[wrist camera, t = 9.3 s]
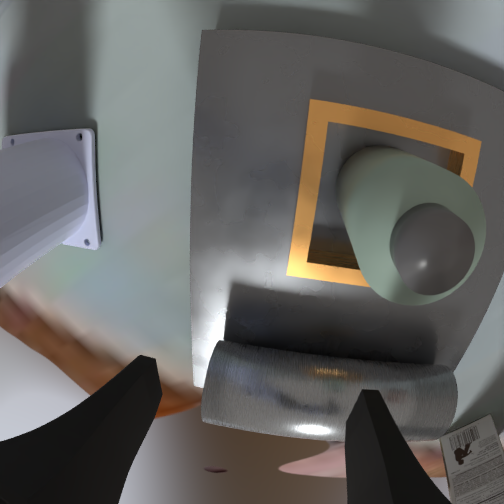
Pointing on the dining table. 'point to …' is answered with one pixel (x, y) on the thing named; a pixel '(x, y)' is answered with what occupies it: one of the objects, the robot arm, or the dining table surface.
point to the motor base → (325, 233)
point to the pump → (409, 224)
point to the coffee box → (474, 463)
